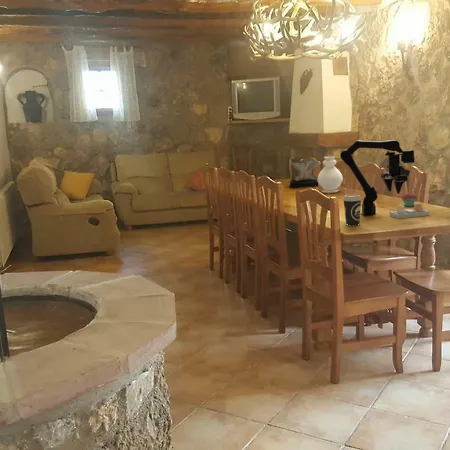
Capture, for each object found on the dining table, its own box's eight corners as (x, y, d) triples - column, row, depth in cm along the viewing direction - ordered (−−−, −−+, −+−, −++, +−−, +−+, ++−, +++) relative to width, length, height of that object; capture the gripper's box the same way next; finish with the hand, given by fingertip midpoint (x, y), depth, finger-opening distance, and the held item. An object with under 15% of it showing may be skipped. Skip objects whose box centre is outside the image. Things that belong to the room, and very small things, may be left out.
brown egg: (416, 215, 280) (416, 204, 279) (411, 214, 285) (411, 202, 284) (424, 214, 281) (424, 203, 280) (419, 213, 286) (419, 202, 284)
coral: (321, 184, 427) (320, 157, 423) (322, 187, 408) (322, 159, 403) (289, 185, 431) (288, 158, 426) (289, 189, 411) (288, 161, 407)
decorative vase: (312, 191, 390) (311, 157, 385) (333, 188, 397) (332, 155, 392) (327, 194, 374) (326, 158, 369) (348, 191, 381) (347, 156, 376)
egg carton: (397, 219, 277) (397, 213, 276) (389, 216, 285) (389, 210, 284) (429, 216, 280) (429, 209, 279) (421, 213, 288) (421, 207, 287)
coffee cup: (359, 222, 277) (359, 193, 274) (364, 225, 267) (364, 196, 264) (341, 223, 276) (340, 194, 273) (345, 227, 267) (345, 197, 264)
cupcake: (406, 207, 308) (406, 186, 305) (398, 205, 316) (398, 185, 314) (419, 205, 310) (420, 185, 308) (411, 203, 318) (411, 183, 316)
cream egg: (406, 216, 280) (406, 205, 278) (398, 217, 279) (398, 205, 278) (402, 215, 284) (402, 203, 283) (394, 216, 283) (394, 204, 282)
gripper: (417, 163, 277) (417, 193, 280) (399, 161, 295) (399, 189, 298) (397, 165, 275) (397, 195, 278) (380, 162, 293) (380, 191, 296)
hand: (394, 192), depth 288 cm, fingers open, 9 cm apart
